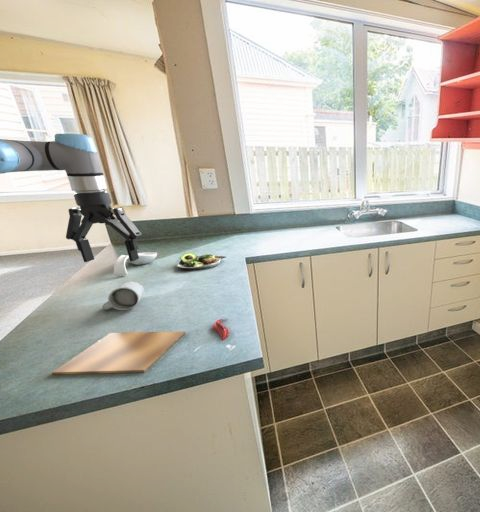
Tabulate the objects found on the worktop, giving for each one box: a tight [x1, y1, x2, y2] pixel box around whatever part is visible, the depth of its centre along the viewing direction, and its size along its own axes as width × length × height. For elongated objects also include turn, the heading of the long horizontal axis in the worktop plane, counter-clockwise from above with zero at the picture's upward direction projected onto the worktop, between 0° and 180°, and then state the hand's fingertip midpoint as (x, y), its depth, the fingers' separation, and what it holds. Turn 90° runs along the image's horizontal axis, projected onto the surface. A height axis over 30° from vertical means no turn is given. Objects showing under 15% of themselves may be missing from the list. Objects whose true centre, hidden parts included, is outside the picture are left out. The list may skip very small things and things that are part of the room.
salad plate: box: [177, 252, 228, 272], centre depth 136 cm, size 19×18×5 cm
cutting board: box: [51, 330, 186, 376], centre depth 74 cm, size 20×16×1 cm
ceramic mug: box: [101, 281, 145, 311], centre depth 96 cm, size 11×8×8 cm
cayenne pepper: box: [211, 318, 230, 341], centre depth 84 cm, size 12×5×2 cm, turn 22°
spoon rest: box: [113, 251, 158, 277], centre depth 131 cm, size 24×12×7 cm, turn 14°
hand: (112, 260), depth 92 cm, fingers open, 13 cm apart
